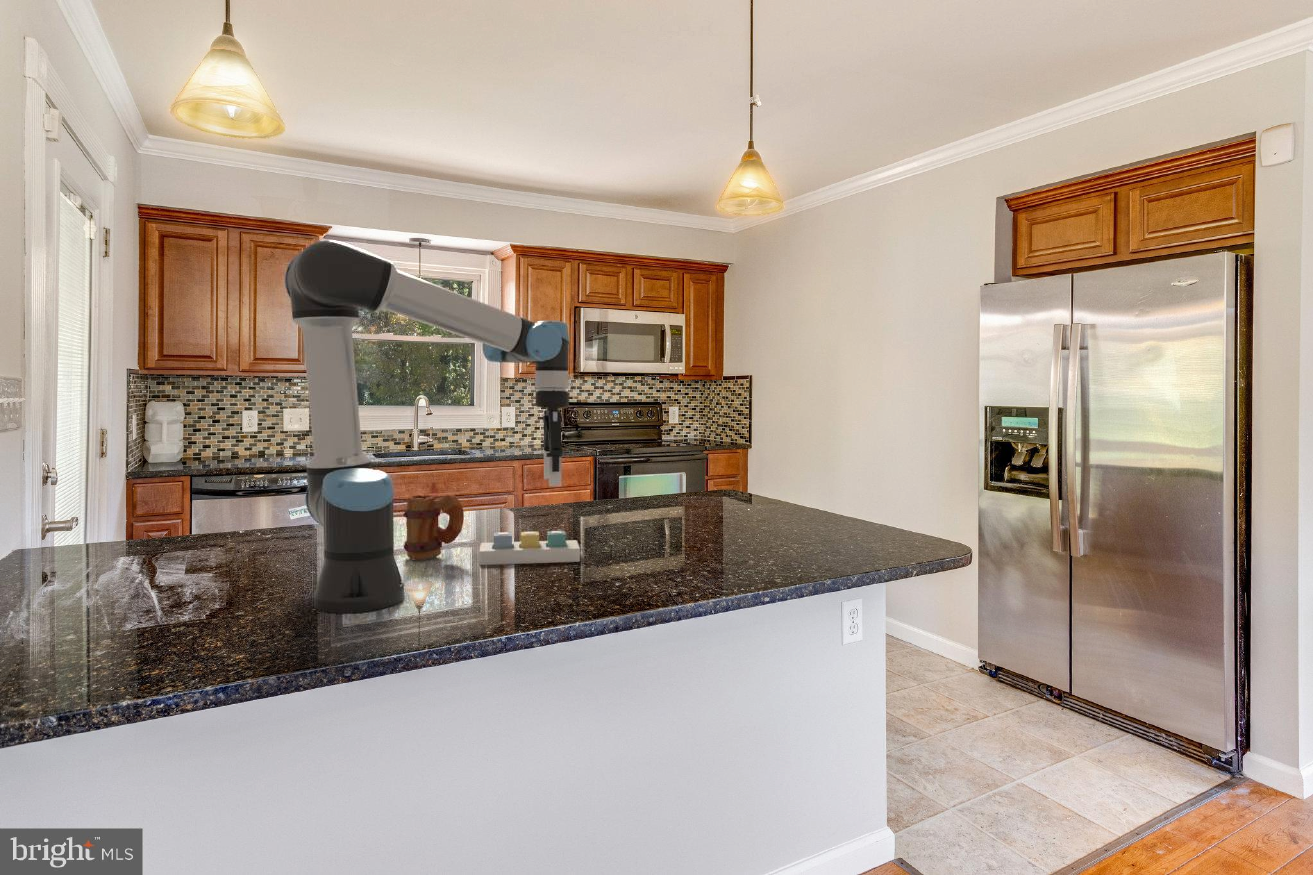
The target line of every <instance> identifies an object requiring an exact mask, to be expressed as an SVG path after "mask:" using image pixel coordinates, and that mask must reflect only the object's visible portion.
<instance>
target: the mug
mask: <svg viewBox="0 0 1313 875" xmlns="http://www.w3.org/2000/svg"><path fill="white" fill-rule="evenodd" d="M406 498H407V500H406V508H405V509H404V512H403V514H402V515H403V517H405V519H406V522H405V523H406V524H405V527H406V540H405V541H404V545H403V549H404V550H405V551H406V555H407V557H408V558H409V559H411V560H413V561H426V560H431V559H435V558H437V557H438V556H440V555H441V554H442V550H441V549H442V547H443V543H444V545H445V544H446V545H447V544H451V543H453V542H454V541H455V540H456V539H457V538H458V537H459V535H460V534H461V532H462V530H463V525H464V518H465V514H464V508H463V505H462V503H461V501H460V499H459V498H458V496H456V495H455V494H453V493H448V494H445V495H443V496H442V497H441V498H439V499H438V498H437V496H436V495H430V494H427V495H425V494H424V495H420V494H416V495H409V496H407V497H406ZM441 511H442V512H444V513H445V514H446V515H447V516H449V517H448V524H447V525H446V527H445V528H443V527H441V526H439V516H441Z"/></svg>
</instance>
